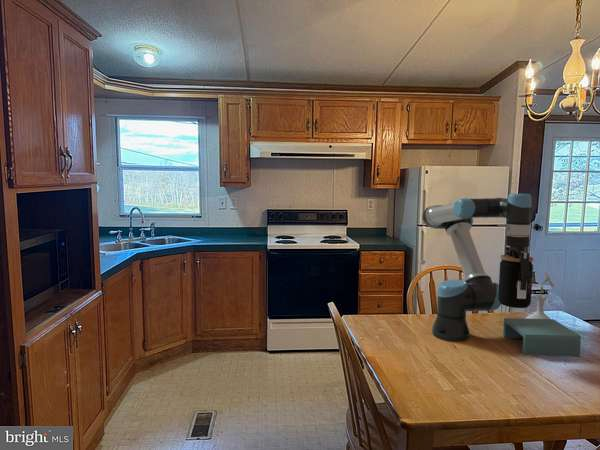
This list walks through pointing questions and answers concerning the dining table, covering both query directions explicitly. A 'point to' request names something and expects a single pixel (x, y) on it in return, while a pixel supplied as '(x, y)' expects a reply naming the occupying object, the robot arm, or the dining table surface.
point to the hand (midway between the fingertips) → (514, 294)
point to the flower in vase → (540, 303)
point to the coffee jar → (513, 282)
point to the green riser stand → (543, 336)
